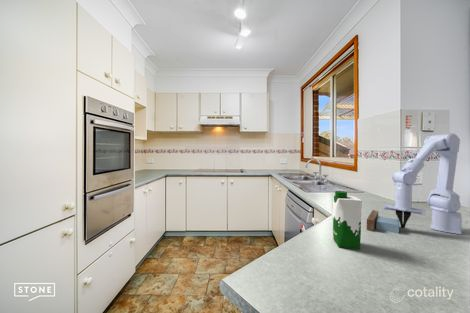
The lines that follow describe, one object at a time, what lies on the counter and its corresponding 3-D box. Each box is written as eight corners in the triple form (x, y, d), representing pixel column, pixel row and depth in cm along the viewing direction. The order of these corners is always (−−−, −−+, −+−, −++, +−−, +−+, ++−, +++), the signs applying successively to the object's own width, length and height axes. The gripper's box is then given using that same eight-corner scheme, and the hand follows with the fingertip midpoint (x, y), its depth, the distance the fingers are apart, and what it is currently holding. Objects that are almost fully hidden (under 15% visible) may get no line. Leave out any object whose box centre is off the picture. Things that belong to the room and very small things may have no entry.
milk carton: (330, 238, 82) (331, 189, 82) (354, 240, 80) (355, 190, 80) (336, 248, 74) (337, 193, 73) (364, 251, 72) (365, 195, 72)
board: (378, 220, 106) (378, 211, 106) (373, 231, 91) (373, 220, 91) (372, 219, 107) (372, 210, 107) (366, 230, 92) (366, 219, 92)
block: (399, 228, 96) (399, 219, 96) (398, 234, 88) (398, 225, 88) (378, 224, 101) (378, 216, 101) (376, 229, 94) (376, 221, 94)
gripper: (382, 196, 93) (382, 226, 93) (426, 201, 84) (425, 234, 84) (384, 194, 99) (383, 222, 99) (425, 199, 89) (424, 229, 89)
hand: (402, 227), depth 92 cm, fingers closed
